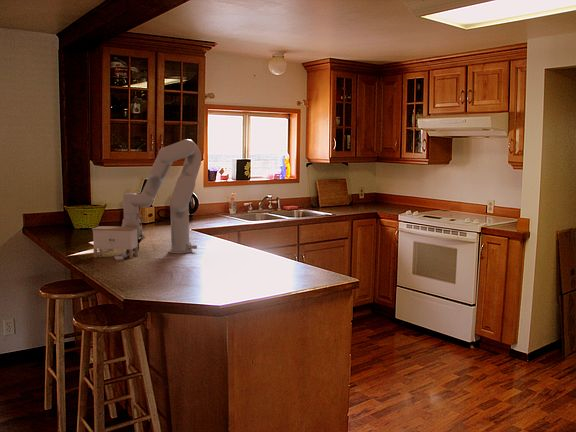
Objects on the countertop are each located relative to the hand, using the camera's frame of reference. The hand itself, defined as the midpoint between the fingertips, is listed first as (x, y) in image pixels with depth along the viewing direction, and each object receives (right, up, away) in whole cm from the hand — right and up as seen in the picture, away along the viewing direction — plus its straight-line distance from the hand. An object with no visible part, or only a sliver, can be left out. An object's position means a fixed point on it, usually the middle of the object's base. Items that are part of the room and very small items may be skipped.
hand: (132, 250), depth 302 cm
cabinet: (-6, -2, -8) cm, 11 cm away
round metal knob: (-2, -4, -17) cm, 17 cm away
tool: (-1, -2, -6) cm, 7 cm away
